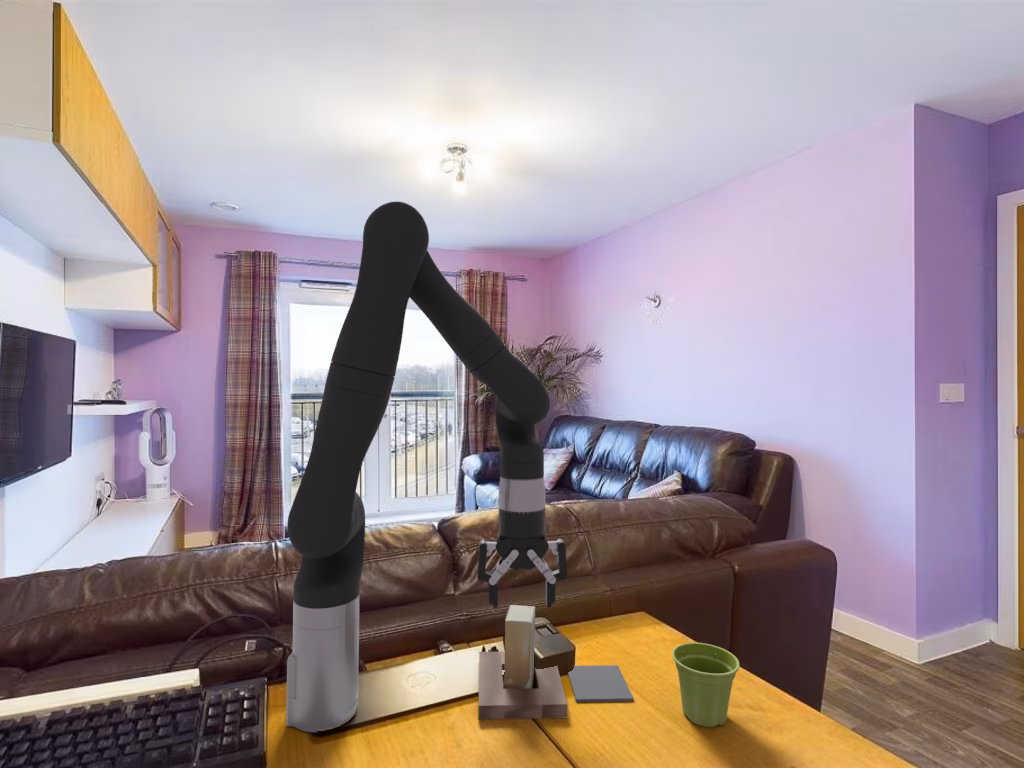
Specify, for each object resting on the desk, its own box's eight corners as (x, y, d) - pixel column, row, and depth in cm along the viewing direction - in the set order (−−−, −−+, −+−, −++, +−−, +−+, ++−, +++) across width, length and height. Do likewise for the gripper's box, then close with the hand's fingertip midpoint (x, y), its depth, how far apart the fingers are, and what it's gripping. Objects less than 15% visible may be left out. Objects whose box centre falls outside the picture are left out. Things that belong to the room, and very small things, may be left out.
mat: (576, 701, 84) (576, 699, 84) (566, 668, 94) (566, 665, 94) (633, 700, 84) (633, 698, 84) (617, 667, 94) (617, 665, 94)
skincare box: (508, 676, 91) (510, 603, 91) (534, 679, 90) (535, 605, 90) (502, 698, 84) (504, 619, 84) (530, 701, 84) (532, 621, 84)
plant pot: (737, 743, 74) (738, 680, 74) (666, 724, 78) (667, 664, 78) (739, 707, 83) (740, 650, 83) (676, 691, 87) (676, 637, 87)
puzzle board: (478, 719, 79) (478, 705, 79) (479, 663, 95) (479, 651, 95) (567, 717, 80) (567, 704, 80) (553, 662, 96) (553, 651, 96)
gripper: (477, 510, 83) (477, 616, 83) (569, 509, 84) (569, 614, 84) (477, 500, 91) (477, 597, 91) (562, 499, 91) (562, 595, 91)
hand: (522, 605), depth 87 cm, fingers open, 8 cm apart
